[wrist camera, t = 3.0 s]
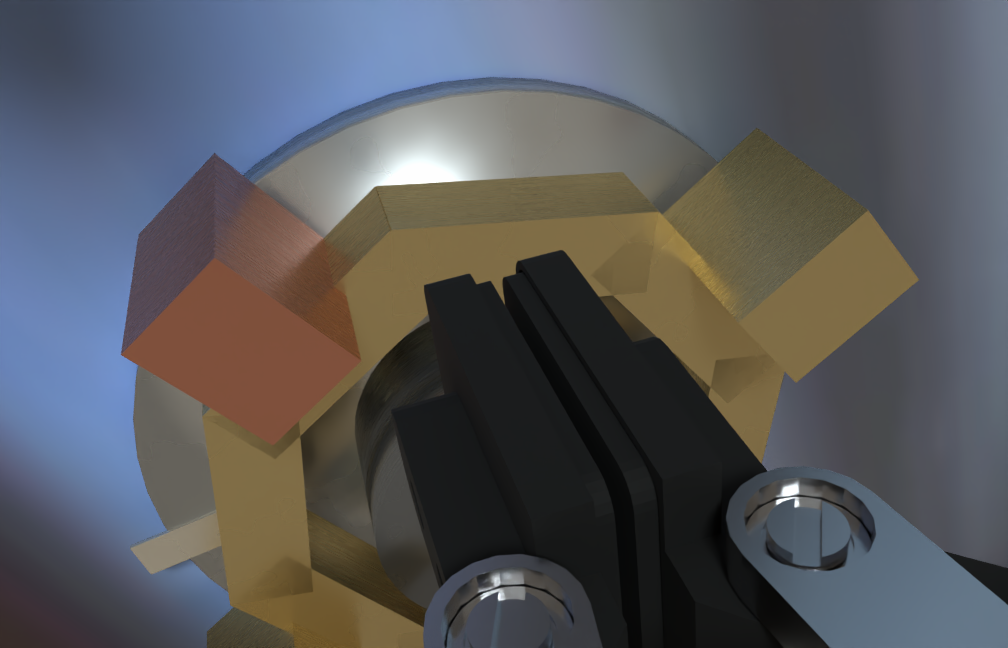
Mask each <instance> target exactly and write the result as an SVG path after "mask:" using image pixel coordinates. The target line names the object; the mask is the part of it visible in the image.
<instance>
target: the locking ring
mask: <svg viewBox="0 0 1008 648" xmlns="http://www.w3.org/2000/svg"><path fill="white" fill-rule="evenodd" d="M558 250H563V251H564V252H565V253H567V255H568V256H569V257H570V259H571V260H572V261H573V263H574V264H575V265H576V267H577V268H578V269H579V271H580V272H581V273H582V275H583V276H584V278H585V279H586V280H587V282H588V283H589V284H590V286H591V287H592V288H593V290H594V291H595V292H596V294H597V295H598V296H599V297H601V296H612V295H613V296H614V297H615V298H616V299H617V300H618V301H619V302H620V303H621V304H622V305H623V306H625V307H626V308H627V309H628V310H629V311H630V312H631V313H632V314H633V315H634V316H635V317H636V318H637V319H638V320H639V321H640V322H642V323H643V324H644V325H645V326H646V327H647V328H648V329H649V330H650V331H651V332H652V333H653V334H654V335H655V336H656V337H657V338H660V339H661V340H662V341H663V342H664V343H665V344H666V345H667V346H668V347H669V349H670V350H671V351H672V352H673V354H674V355H675V356H676V357H677V359H678V360H679V361H680V362H681V364H682V365H683V366H684V367H685V369H686V370H687V371H688V372H689V374H690V375H691V376H692V377H693V379H694V380H695V381H696V382H697V384H698V385H699V386H700V387H701V389H702V390H703V391H704V392H705V394H706V395H707V396H708V397H709V399H710V400H711V401H712V402H713V404H714V405H715V406H716V407H717V409H718V410H719V411H720V412H721V414H722V415H723V416H724V417H725V419H726V420H727V421H728V422H729V424H730V425H731V426H732V427H733V429H734V430H735V431H736V432H737V434H738V435H739V436H740V437H741V439H742V440H743V441H744V442H745V444H746V445H747V446H748V448H749V449H750V450H751V451H752V453H753V454H754V455H755V456H756V458H757V459H758V460H759V461H760V463H761V464H762V460H763V456H764V452H765V448H766V444H767V440H768V436H769V432H770V428H771V423H772V419H773V415H774V411H775V407H776V403H777V399H778V395H779V391H780V387H781V383H782V379H783V375H784V371H785V372H786V373H787V374H788V375H789V376H790V377H791V378H792V379H793V380H794V381H795V382H797V381H799V380H800V379H801V378H802V377H803V376H805V375H806V374H807V373H808V372H809V371H811V370H812V369H813V368H814V367H815V366H817V365H818V364H819V363H820V362H821V361H823V360H824V359H825V358H826V357H827V356H829V355H830V354H831V353H832V352H833V351H834V350H836V349H837V348H838V347H839V346H840V345H842V344H843V343H844V342H845V341H846V340H848V339H849V338H850V337H851V336H852V335H854V334H855V333H856V332H857V331H858V330H860V329H861V328H862V327H863V326H864V325H866V324H867V323H868V322H869V321H870V320H872V319H873V318H874V317H875V316H876V315H877V314H879V313H880V312H881V311H882V310H883V309H885V308H886V307H887V306H888V305H889V304H891V303H892V302H893V301H894V300H895V299H897V298H898V297H899V296H900V295H901V294H903V293H904V292H905V291H906V290H907V289H909V288H910V287H911V286H912V285H913V284H915V283H916V282H917V281H918V280H919V279H918V278H917V276H916V275H915V274H914V272H913V271H912V270H911V268H910V267H909V265H908V264H907V263H906V261H905V260H904V259H903V257H902V256H901V255H900V253H899V252H898V250H897V249H896V248H895V246H894V245H893V244H892V242H891V241H890V240H889V238H888V237H887V235H886V234H885V233H884V231H883V230H882V229H881V227H880V226H879V225H878V223H877V222H876V220H875V219H874V218H873V216H872V215H871V214H870V212H869V211H868V210H867V209H866V208H864V207H863V206H862V205H860V204H859V203H858V202H856V201H855V200H854V199H852V198H851V197H849V196H848V195H847V194H845V193H844V192H843V191H841V190H840V189H839V188H837V187H836V186H835V185H833V184H832V183H831V182H829V181H828V180H827V179H825V178H824V177H822V176H821V175H820V174H818V173H817V172H816V171H814V170H813V169H812V168H810V167H809V166H808V165H806V164H805V163H804V162H802V161H801V160H800V159H798V158H797V157H796V156H794V155H793V154H791V153H790V152H789V151H787V150H786V149H785V148H783V147H782V146H781V145H779V144H778V143H777V142H775V141H774V140H773V139H771V138H770V137H769V136H767V135H766V134H764V133H763V132H762V131H760V130H759V129H758V128H756V129H755V130H754V131H753V132H752V133H751V134H750V135H748V136H747V137H746V138H745V139H744V140H743V141H742V142H741V143H740V144H739V145H738V146H736V147H735V148H734V149H733V150H732V151H731V152H730V153H729V154H728V155H727V156H726V157H724V158H723V159H722V160H721V161H720V162H719V163H718V164H717V165H716V166H715V167H714V168H712V169H711V170H710V171H709V172H708V173H707V174H706V175H705V176H704V177H703V178H702V179H700V180H699V181H698V182H697V183H696V184H695V185H694V186H693V187H692V188H691V189H690V190H688V191H687V192H686V193H685V194H684V195H683V196H682V197H681V198H680V199H679V200H678V201H676V202H675V203H674V204H673V205H672V206H671V207H670V208H669V209H668V210H667V211H666V212H664V213H663V214H661V213H660V212H659V211H658V209H657V208H656V207H655V206H654V205H653V204H652V203H651V202H650V201H649V200H648V199H647V198H646V197H645V196H644V194H643V193H642V192H641V191H640V190H639V189H638V188H637V187H636V186H635V185H634V184H633V183H632V182H631V180H630V179H629V178H628V177H627V176H626V175H625V174H624V173H623V172H611V173H594V174H576V175H559V176H541V177H524V178H506V179H489V180H471V181H454V182H436V183H419V184H401V185H384V186H376V187H374V188H373V189H372V190H371V191H370V192H369V193H368V194H367V195H366V196H365V197H364V198H363V199H362V200H361V201H360V202H359V203H358V204H357V205H356V206H355V207H354V208H353V209H352V210H351V211H350V212H349V213H348V214H347V215H346V216H345V217H344V218H343V219H342V220H341V221H340V222H339V223H338V224H337V225H336V226H335V227H334V228H333V229H332V230H331V231H330V232H329V233H328V234H327V235H326V236H325V237H324V238H323V237H322V236H320V235H319V234H318V233H316V232H315V231H314V230H312V229H311V228H310V227H309V226H307V225H306V224H305V223H303V222H302V221H301V220H300V219H298V218H297V217H296V216H294V215H293V214H292V213H291V212H289V211H288V210H287V209H285V208H284V207H283V206H282V205H280V204H279V203H278V202H276V201H275V200H274V199H273V198H271V197H270V196H269V195H267V194H266V193H265V192H264V191H262V190H261V189H260V188H258V187H257V186H256V185H255V184H253V183H252V182H251V181H249V180H248V179H247V178H246V177H244V176H243V175H242V174H240V173H239V172H238V171H237V170H235V169H234V168H233V167H231V166H230V165H229V164H228V163H226V162H225V161H224V160H222V159H221V158H220V157H219V156H217V155H216V154H215V153H214V154H213V155H212V156H211V158H210V159H209V160H208V161H207V162H206V163H205V164H204V165H203V166H202V167H201V168H200V169H199V170H198V171H197V173H196V174H195V175H194V176H193V177H192V178H191V179H190V180H189V181H188V182H187V183H186V184H185V185H184V186H183V188H182V189H181V190H180V191H179V192H178V193H177V194H176V195H175V196H174V197H173V198H172V199H171V200H170V201H169V203H168V204H167V205H166V206H165V207H164V208H163V209H162V210H161V211H160V212H159V213H158V214H157V215H156V216H155V218H154V219H153V220H152V221H151V222H150V223H149V224H148V225H147V226H146V227H145V228H144V229H143V230H142V231H141V233H140V234H139V236H138V243H137V250H136V256H135V263H134V270H133V277H132V283H131V290H130V297H129V304H128V310H127V317H126V324H125V331H124V338H123V344H122V351H121V355H122V356H124V357H125V358H127V359H129V360H130V361H132V362H134V363H135V364H137V365H139V366H141V367H142V368H144V369H146V370H147V371H149V372H151V373H152V374H154V375H156V376H157V377H159V378H161V379H162V380H164V381H166V382H167V383H169V384H171V385H172V386H174V387H176V388H177V389H179V390H181V391H182V392H184V393H186V394H188V395H189V396H191V397H193V398H194V399H196V400H198V401H199V402H201V403H203V404H202V419H203V425H204V432H205V439H206V445H207V452H208V459H209V466H210V472H211V479H212V486H213V492H214V499H215V506H216V512H217V519H218V526H219V532H220V539H221V546H222V552H223V559H224V566H225V572H226V579H227V586H228V592H229V599H230V605H231V606H233V607H234V608H233V609H231V610H230V611H229V612H228V613H227V614H226V615H225V616H224V617H223V618H222V619H221V620H219V621H218V622H217V623H216V624H215V625H214V626H213V627H212V628H211V629H210V630H209V631H207V648H424V642H423V631H424V621H425V613H426V611H427V609H426V608H424V607H422V606H420V605H418V604H417V603H415V602H414V601H412V600H410V599H409V598H408V597H406V596H405V595H404V594H403V593H402V592H401V591H400V590H398V589H397V587H396V586H395V585H394V584H393V582H392V581H391V580H390V579H389V578H388V576H387V574H386V572H385V570H384V568H383V566H382V564H381V561H380V558H379V555H378V552H377V548H375V547H373V546H372V545H370V544H368V543H366V542H364V541H363V540H361V539H359V538H357V537H356V536H354V535H352V534H350V533H349V532H347V531H345V530H343V529H341V528H340V527H338V526H336V525H334V524H333V523H331V522H329V521H327V520H325V519H324V518H322V517H320V516H318V515H317V514H315V513H313V512H311V511H309V510H308V509H306V500H305V488H304V475H303V463H302V451H301V439H300V436H301V435H302V434H303V433H304V432H305V431H306V430H307V429H308V428H309V427H310V426H311V425H312V424H313V423H314V422H315V421H317V420H318V419H319V418H320V417H321V416H322V415H323V414H324V413H325V412H326V411H327V410H328V409H329V408H330V407H331V406H332V405H333V404H334V403H335V402H336V401H338V400H339V399H340V398H341V397H342V396H343V395H344V394H345V393H346V392H347V391H348V390H349V389H350V388H351V387H352V386H353V385H354V384H355V383H356V382H357V381H359V380H360V379H361V378H362V377H363V376H364V375H365V374H366V373H367V372H368V371H369V370H370V369H371V368H372V367H373V366H374V365H375V364H376V363H377V362H378V361H380V360H381V359H382V358H383V357H384V356H385V355H386V354H387V353H388V352H389V351H390V350H391V349H392V348H393V347H394V346H395V345H396V344H397V343H398V342H400V341H401V340H402V339H403V338H404V337H405V336H406V335H407V334H408V333H409V332H410V331H411V330H412V329H413V328H414V327H415V326H416V325H417V324H418V323H419V322H421V321H422V320H423V319H424V318H425V317H426V316H427V315H428V310H427V305H426V300H425V294H424V285H426V284H429V283H433V282H437V281H441V280H445V279H449V278H453V277H457V276H461V275H465V274H471V276H472V277H473V279H474V281H475V282H476V284H479V283H483V282H487V281H491V282H492V283H493V285H494V287H495V289H496V290H497V292H498V294H499V296H500V297H501V299H502V301H503V303H504V304H505V301H504V294H503V286H502V280H503V277H506V276H510V275H514V274H516V263H517V261H519V260H523V259H527V258H531V257H535V256H539V255H543V254H547V253H551V252H555V251H558Z"/></svg>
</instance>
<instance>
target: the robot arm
mask: <svg viewBox="0 0 1008 648" xmlns="http://www.w3.org/2000/svg"><path fill="white" fill-rule="evenodd" d="M502 286H503V294H504V301H505V304H504V303H503V301H502V299H501V297H500V296H499V294H498V292H497V290H496V289H495V287H494V285H493V283H492V282H491V281H487V282H483V283H479V284H476V282H475V281H474V279H473V277H472V276H471V274H465V275H461V276H457V277H453V278H449V279H445V280H441V281H437V282H433V283H429V284H426V285H424V294H425V300H426V305H427V310H428V315H429V320H430V325H431V330H432V335H433V340H434V345H435V350H436V355H437V360H438V365H439V370H440V375H441V380H442V385H443V390H444V395H441V396H437V397H434V398H430V399H426V400H423V401H419V402H416V403H412V404H408V405H405V406H401V407H398V408H394V409H391V415H392V420H393V424H394V428H395V432H396V437H397V441H398V445H399V449H400V453H401V457H402V461H403V465H404V469H405V473H406V477H407V481H408V484H409V488H410V492H411V495H412V499H413V503H414V506H415V510H416V513H417V517H418V520H419V524H420V527H421V530H422V534H423V537H424V540H425V544H426V547H427V550H428V553H429V557H430V560H431V563H432V567H433V570H434V573H435V576H436V580H437V583H438V586H439V590H438V591H437V592H436V593H435V595H434V597H433V599H432V601H431V603H430V605H429V607H428V609H427V611H426V613H425V621H424V631H423V642H424V648H1008V568H1004V567H1001V566H997V565H993V564H989V563H986V562H982V561H978V560H974V559H971V558H967V557H963V556H959V555H956V554H952V553H948V552H945V551H943V550H941V549H940V548H939V547H938V546H937V545H935V544H934V543H933V542H932V541H931V540H929V539H928V538H927V537H926V536H925V535H923V534H922V533H921V532H920V531H919V530H917V529H916V528H915V527H914V526H913V525H911V524H910V523H909V522H908V521H907V520H905V519H904V518H903V517H902V516H901V515H899V514H898V513H897V512H896V511H895V510H893V509H892V508H891V507H890V506H889V505H887V504H886V503H885V502H884V501H883V500H881V499H880V498H879V497H878V496H877V495H875V494H874V493H873V492H872V491H870V490H869V489H867V488H866V487H864V486H863V485H861V484H859V483H858V482H856V481H855V480H853V479H852V478H849V477H846V476H843V475H841V474H838V473H835V472H832V471H830V470H825V469H818V468H811V467H804V466H801V467H785V468H777V469H774V470H771V471H767V470H766V469H765V468H764V466H763V465H762V464H761V463H760V461H759V460H758V459H757V458H756V456H755V455H754V454H753V453H752V451H751V450H750V449H749V448H748V446H747V445H746V444H745V442H744V441H743V440H742V439H741V437H740V436H739V435H738V434H737V432H736V431H735V430H734V429H733V427H732V426H731V425H730V424H729V422H728V421H727V420H726V419H725V417H724V416H723V415H722V414H721V412H720V411H719V410H718V409H717V407H716V406H715V405H714V404H713V402H712V401H711V400H710V399H709V397H708V396H707V395H706V394H705V392H704V391H703V390H702V389H701V387H700V386H699V385H698V384H697V382H696V381H695V380H694V379H693V377H692V376H691V375H690V374H689V372H688V371H687V370H686V369H685V367H684V366H683V365H682V364H681V362H680V361H679V360H678V359H677V357H676V356H675V355H674V354H673V352H672V351H671V350H670V349H669V347H668V346H667V345H666V344H665V343H664V342H663V341H662V340H661V339H660V338H657V337H650V338H646V339H643V340H639V341H636V342H632V340H631V339H630V338H629V336H628V335H627V334H626V332H625V331H624V330H623V328H622V327H621V326H620V324H619V323H618V322H617V320H616V319H615V318H614V316H613V315H612V314H611V312H610V311H609V310H608V308H607V307H606V306H605V304H604V303H603V302H602V300H601V299H600V298H599V296H598V295H597V294H596V292H595V291H594V290H593V288H592V287H591V286H590V284H589V283H588V282H587V280H586V279H585V278H584V276H583V275H582V273H581V272H580V271H579V269H578V268H577V267H576V265H575V264H574V263H573V261H572V260H571V259H570V257H569V256H568V255H567V253H565V252H564V251H563V250H558V251H555V252H551V253H547V254H543V255H539V256H535V257H531V258H527V259H523V260H519V261H517V263H516V274H514V275H510V276H506V277H503V280H502Z"/></svg>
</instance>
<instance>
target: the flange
mask: <svg viewBox="0 0 1008 648" xmlns="http://www.w3.org/2000/svg"><path fill="white" fill-rule="evenodd" d="M717 164H718V162H717V161H716V160H715V159H714V158H712V157H711V156H710V155H709V154H708V153H707V152H706V151H704V150H703V149H702V148H701V147H700V146H699V145H697V144H696V143H695V142H694V141H692V140H691V139H690V138H688V137H687V136H685V135H684V134H683V133H681V132H680V131H679V130H677V129H676V128H674V127H673V126H672V125H670V124H669V123H667V122H666V121H665V120H663V119H661V118H659V117H657V116H655V115H653V114H652V113H650V112H648V111H646V110H644V109H642V108H640V107H638V106H636V105H634V104H632V103H630V102H628V101H626V100H623V99H620V98H616V97H613V96H610V95H607V94H604V93H601V92H598V91H595V90H592V89H589V88H586V87H582V86H576V85H570V84H565V83H559V82H553V81H548V80H542V79H525V78H497V77H489V78H478V79H468V80H458V81H447V82H440V83H435V84H431V85H427V86H422V87H418V88H413V89H409V90H405V91H400V92H396V93H392V94H389V95H386V96H383V97H381V98H378V99H375V100H373V101H370V102H367V103H365V104H362V105H359V106H356V107H354V108H351V109H348V110H346V111H343V112H341V113H339V114H337V115H335V116H333V117H331V118H329V119H328V120H326V121H324V122H322V123H320V124H318V125H316V126H314V127H312V128H310V129H308V130H306V131H305V132H303V133H301V134H299V135H297V136H296V137H294V138H293V139H291V140H290V141H288V142H287V143H286V144H284V145H283V146H281V147H280V148H278V149H277V150H276V151H274V152H273V153H271V154H270V155H268V156H267V157H266V158H264V159H263V160H261V161H260V162H258V163H257V164H256V165H254V166H253V167H252V168H251V169H250V170H249V171H248V172H247V173H246V174H245V175H243V176H244V177H246V178H247V179H248V180H249V181H251V182H252V183H253V184H255V185H256V186H257V187H258V188H260V189H261V190H262V191H264V192H265V193H266V194H267V195H269V196H270V197H271V198H273V199H274V200H275V201H276V202H278V203H279V204H280V205H282V206H283V207H284V208H285V209H287V210H288V211H289V212H291V213H292V214H293V215H294V216H296V217H297V218H298V219H300V220H301V221H302V222H303V223H305V224H306V225H307V226H309V227H310V228H311V229H312V230H314V231H315V232H316V233H318V234H319V235H320V236H322V237H323V238H324V237H325V236H326V235H327V234H328V233H329V232H330V231H331V230H332V229H333V228H334V227H335V226H336V225H337V224H338V223H339V222H340V221H341V220H342V219H343V218H344V217H345V216H346V215H347V214H348V213H349V212H350V211H351V210H352V209H353V208H354V207H355V206H356V205H357V204H358V203H359V202H360V201H361V200H362V199H363V198H364V197H365V196H366V195H367V194H368V193H369V192H370V191H371V190H372V189H373V188H374V187H376V186H384V185H401V184H419V183H436V182H454V181H471V180H489V179H506V178H524V177H541V176H559V175H576V174H594V173H611V172H623V173H624V174H625V175H626V176H627V177H628V178H629V179H630V180H631V182H632V183H633V184H634V185H635V186H636V187H637V188H638V189H639V190H640V191H641V192H642V193H643V194H644V196H645V197H646V198H647V199H648V200H649V201H650V202H651V203H652V204H653V205H654V206H655V207H656V208H657V209H658V211H659V212H660V213H661V214H663V213H664V212H666V211H667V210H668V209H669V208H670V207H671V206H672V205H673V204H674V203H675V202H676V201H678V200H679V199H680V198H681V197H682V196H683V195H684V194H685V193H686V192H687V191H688V190H690V189H691V188H692V187H693V186H694V185H695V184H696V183H697V182H698V181H699V180H700V179H702V178H703V177H704V176H705V175H706V174H707V173H708V172H709V171H710V170H711V169H712V168H714V167H715V166H716V165H717ZM599 298H600V299H601V300H602V302H603V303H604V304H605V306H606V307H607V308H608V310H609V311H610V312H611V314H612V315H613V316H614V318H615V319H616V320H617V322H618V323H619V324H620V326H621V327H622V328H623V330H624V331H625V332H626V334H627V335H628V336H629V338H630V339H631V340H632V342H636V341H639V340H643V339H646V338H650V337H656V336H655V335H654V334H653V333H652V332H651V331H650V330H649V329H648V328H647V327H646V326H645V325H644V324H643V323H642V322H640V321H639V320H638V319H637V318H636V317H635V316H634V315H633V314H632V313H631V312H630V311H629V310H628V309H627V308H626V307H625V306H623V305H622V304H621V303H620V302H619V301H618V300H617V299H616V298H615V297H614V296H613V295H612V296H601V297H599ZM784 372H785V371H784ZM783 377H784V375H783ZM782 382H783V379H782ZM781 385H782V383H781ZM780 388H781V387H780ZM441 395H444V390H443V385H442V380H441V375H440V370H439V365H438V360H437V355H436V350H435V345H434V340H433V335H432V330H431V325H430V320H429V315H427V316H426V317H425V318H424V319H423V320H422V321H421V322H419V323H418V324H417V325H416V326H415V327H414V328H413V329H412V330H411V331H410V332H409V333H408V334H407V335H406V336H405V337H404V338H403V339H402V340H401V341H400V342H398V343H397V344H396V345H395V346H394V347H393V348H392V349H391V350H390V351H389V352H388V353H387V354H386V355H385V356H384V357H383V358H382V359H381V360H380V361H378V362H377V363H376V364H375V365H374V366H373V367H372V368H371V369H370V370H369V371H368V372H367V373H366V374H365V375H364V376H363V377H362V378H361V379H360V380H359V381H357V382H356V383H355V384H354V385H353V386H352V387H351V388H350V389H349V390H348V391H347V392H346V393H345V394H344V395H343V396H342V397H341V398H340V399H339V400H338V401H336V402H335V403H334V404H333V405H332V406H331V407H330V408H329V409H328V410H327V411H326V412H325V413H324V414H323V415H322V416H321V417H320V418H319V419H318V420H317V421H315V422H314V423H313V424H312V425H311V426H310V427H309V428H308V429H307V430H306V431H305V432H304V433H303V434H302V435H301V436H300V439H301V451H302V463H303V475H304V488H305V500H306V509H308V510H309V511H311V512H313V513H315V514H317V515H318V516H320V517H322V518H324V519H325V520H327V521H329V522H331V523H333V524H334V525H336V526H338V527H340V528H341V529H343V530H345V531H347V532H349V533H350V534H352V535H354V536H356V537H357V538H359V539H361V540H363V541H364V542H366V543H368V544H370V545H372V546H373V547H375V548H377V552H378V555H379V558H380V561H381V564H382V566H383V568H384V570H385V572H386V574H387V576H388V578H389V579H390V580H391V581H392V582H393V584H394V585H395V586H396V587H397V589H398V590H400V591H401V592H402V593H403V594H404V595H405V596H406V597H408V598H409V599H410V600H412V601H414V602H415V603H417V604H418V605H420V606H422V607H424V608H426V609H428V607H429V605H430V603H431V601H432V599H433V597H434V595H435V593H436V592H437V591H438V590H439V586H438V583H437V580H436V576H435V573H434V570H433V567H432V563H431V560H430V557H429V553H428V550H427V547H426V544H425V540H424V537H423V534H422V530H421V527H420V524H419V520H418V517H417V513H416V510H415V506H414V503H413V499H412V495H411V492H410V488H409V484H408V481H407V477H406V473H405V469H404V465H403V461H402V457H401V453H400V449H399V445H398V441H397V437H396V432H395V428H394V424H393V420H392V415H391V409H394V408H398V407H401V406H405V405H408V404H412V403H416V402H419V401H423V400H426V399H430V398H434V397H437V396H441ZM202 404H203V403H201V402H199V401H198V400H196V399H194V398H193V397H191V396H189V395H188V394H186V393H184V392H182V391H181V390H179V389H177V388H176V387H174V386H172V385H171V384H169V383H167V382H166V381H164V380H162V379H161V378H159V377H157V376H156V375H154V374H152V373H151V372H149V371H147V370H146V369H144V368H142V367H141V366H139V365H138V366H137V374H136V385H135V401H134V416H133V422H134V431H135V440H136V449H137V458H138V461H139V464H140V468H141V471H142V475H143V478H144V481H145V485H146V488H147V492H148V494H149V496H150V498H151V500H152V502H153V504H154V506H155V508H156V510H157V512H158V514H159V516H160V518H161V520H162V522H163V524H164V526H165V527H166V529H167V530H166V531H164V532H161V533H159V534H157V535H154V536H152V537H149V538H147V539H144V540H142V541H140V542H137V543H135V544H132V545H130V549H131V550H132V551H133V553H134V554H135V555H136V556H137V558H138V559H139V560H140V561H141V562H142V564H143V565H144V566H145V567H146V569H147V570H148V571H149V572H150V573H151V574H154V573H156V572H159V571H161V570H164V569H166V568H168V567H171V566H173V565H176V564H178V563H180V562H183V561H185V560H188V559H191V560H192V561H193V562H194V563H195V564H196V565H197V566H198V567H199V568H200V569H201V570H202V571H203V572H204V573H205V574H206V575H207V576H208V577H209V578H210V579H211V580H213V581H214V582H215V583H217V584H218V585H219V586H221V587H222V588H224V589H225V590H226V591H228V586H227V579H226V572H225V566H224V559H223V552H222V546H221V539H220V532H219V526H218V519H217V512H216V506H215V499H214V492H213V486H212V479H211V472H210V466H209V459H208V452H207V445H206V439H205V432H204V425H203V419H202Z"/></svg>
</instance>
